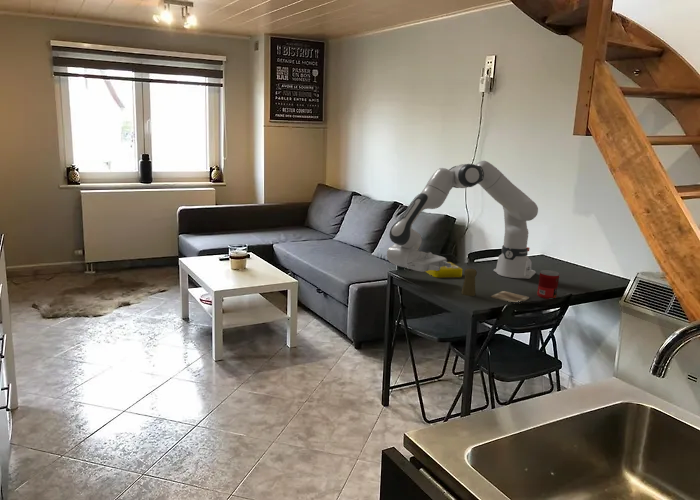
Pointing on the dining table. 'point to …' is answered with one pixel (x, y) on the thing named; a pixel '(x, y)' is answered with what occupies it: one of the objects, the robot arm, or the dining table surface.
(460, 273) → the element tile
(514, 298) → the coaster
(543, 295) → the canned food
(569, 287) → the dining table surface
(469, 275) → the cork
